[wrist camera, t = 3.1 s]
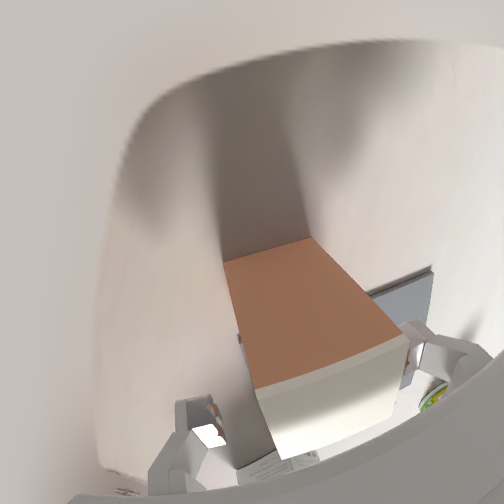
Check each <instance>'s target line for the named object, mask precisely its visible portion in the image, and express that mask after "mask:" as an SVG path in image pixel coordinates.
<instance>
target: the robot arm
mask: <svg viewBox="0 0 504 504" xmlns="http://www.w3.org/2000/svg"><path fill="white" fill-rule="evenodd" d="M397 327H398V328H399V329H400V330H401V331H402V332H403V333H404V334H405V336H406V337H407V338H408V339H409V340H410V343H409V349H408V353H407V358H406V363H405V367H404V371H403V375H404V376H406V375H408V374H410V373H412V372H414V371H415V370H417V369H419V370H421V371H424V372H426V373H428V374H431V375H433V376H435V377H438V378H440V379H442V380H445V381H447V382H449V385H448V388H447V390H446V394H447V396H445V397H444V398H442V399H441V400H439V401H438V402H436V403H435V404H433V405H432V406H430V407H429V408H427V409H425V410H424V411H422V412H421V413H419V414H417V415H416V416H414V417H412V418H411V419H409V420H407V421H405V422H404V423H402V424H400V425H398V426H397V427H395V428H393V429H391V430H389V431H387V432H385V433H383V434H381V435H379V436H377V437H375V438H373V439H371V440H369V441H367V442H365V443H363V444H361V445H359V446H356V447H354V448H352V449H350V450H347V451H345V452H343V453H340V454H338V455H335V456H333V457H330V458H328V459H325V460H323V461H320V462H317V463H314V464H312V465H309V466H306V467H303V468H300V469H297V470H294V471H290V472H287V473H284V474H280V475H277V476H273V477H270V478H266V479H262V480H258V481H254V482H250V483H245V484H241V485H236V486H231V487H226V488H220V489H214V490H208V491H207V490H206V488H205V487H204V486H203V485H201V484H200V483H199V482H198V481H196V480H195V478H196V476H197V474H198V471H199V469H200V467H201V464H202V462H203V460H204V458H205V455H206V453H207V451H208V449H207V448H211V447H216V446H220V445H224V444H226V439H225V434H224V431H223V429H222V428H221V425H222V424H223V423H222V418H221V414H220V411H219V409H218V407H217V405H216V404H214V403H213V398H212V397H211V395H210V394H209V395H204V396H199V397H194V398H189V399H184V400H180V401H176V402H175V428H176V432H174V433H172V434H171V436H170V438H169V439H168V441H167V442H166V444H165V445H164V447H163V449H162V450H161V452H160V453H159V455H158V456H157V458H156V459H155V461H154V462H153V464H152V466H151V467H150V469H149V470H148V496H100V495H89V494H78V495H76V496H74V497H73V498H72V499H71V500H70V501H69V502H68V503H67V504H504V350H503V351H502V352H501V353H499V354H498V355H497V356H496V357H495V358H494V359H493V358H492V357H491V356H490V355H489V354H488V353H487V352H486V351H485V350H484V349H483V348H482V347H481V346H479V345H478V344H475V343H471V342H467V341H463V340H459V339H455V338H451V337H447V336H443V335H439V334H438V335H435V334H434V333H433V332H432V331H431V330H430V329H429V328H428V327H427V326H426V325H424V324H423V323H422V322H421V321H420V320H419V319H418V318H417V317H413V318H411V319H409V320H407V321H406V322H403V323H401V324H399V325H397Z"/></svg>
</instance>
